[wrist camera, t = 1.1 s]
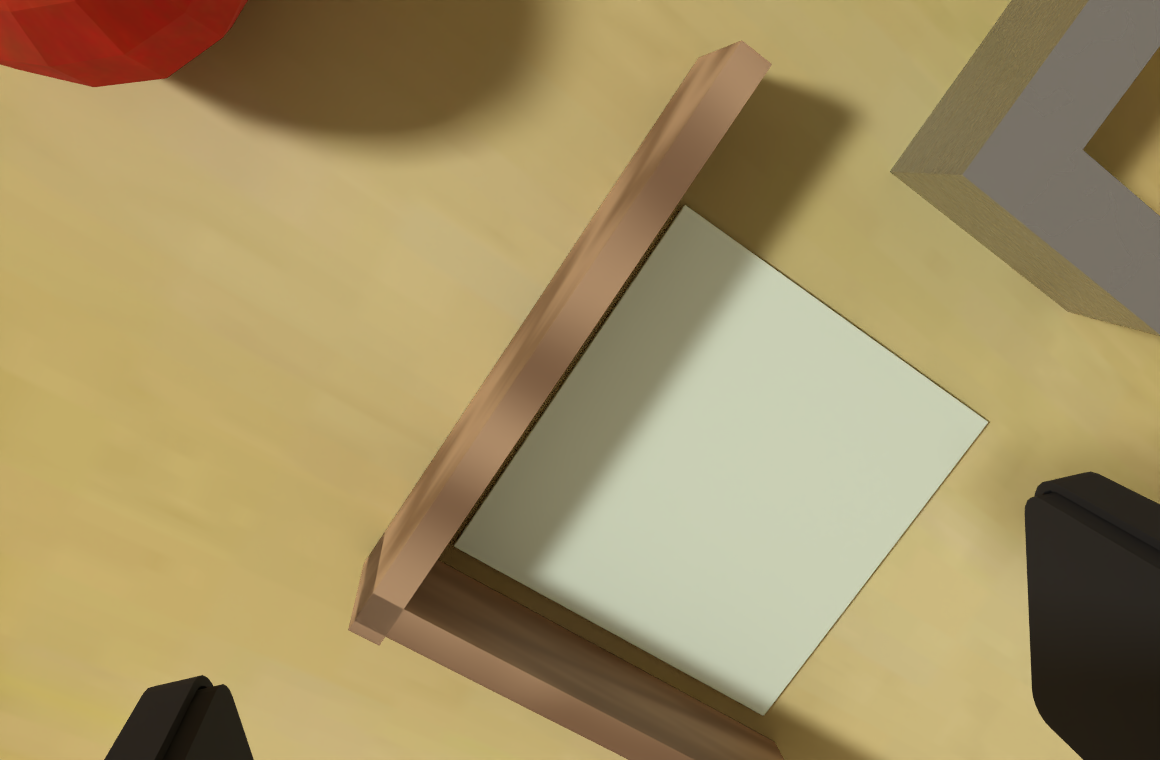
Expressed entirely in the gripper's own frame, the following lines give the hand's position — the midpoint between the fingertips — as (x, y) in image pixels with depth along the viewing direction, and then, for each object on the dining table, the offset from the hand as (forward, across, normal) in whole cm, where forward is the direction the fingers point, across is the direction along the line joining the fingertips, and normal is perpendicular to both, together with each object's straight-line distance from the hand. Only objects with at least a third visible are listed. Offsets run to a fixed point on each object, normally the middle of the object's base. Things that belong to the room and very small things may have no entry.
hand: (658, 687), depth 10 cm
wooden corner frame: (+24, -7, +7) cm, 26 cm away
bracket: (+24, -22, -2) cm, 32 cm away
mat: (+24, -7, +8) cm, 26 cm away
